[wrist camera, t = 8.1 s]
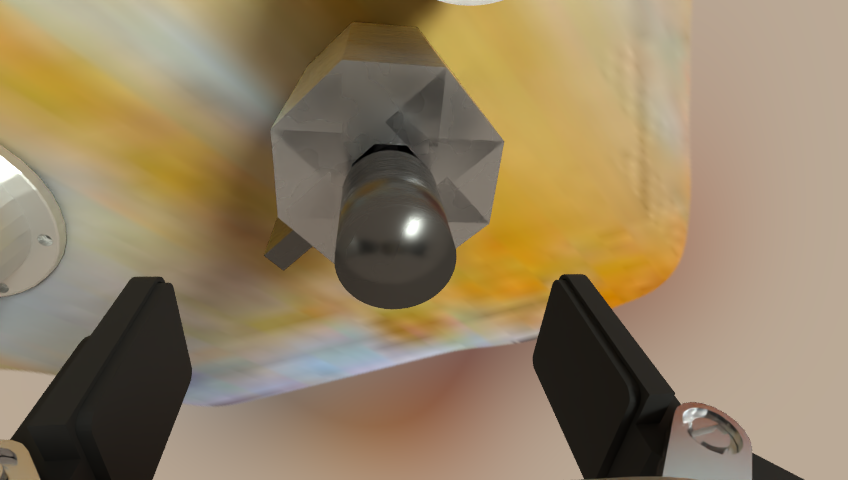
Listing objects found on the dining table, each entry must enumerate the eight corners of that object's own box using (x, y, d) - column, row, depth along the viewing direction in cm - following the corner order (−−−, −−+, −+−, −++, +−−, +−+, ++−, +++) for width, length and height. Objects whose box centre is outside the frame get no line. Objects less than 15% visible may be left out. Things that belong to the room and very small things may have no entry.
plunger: (380, 147, 29) (391, 327, 15) (339, 104, 28) (308, 260, 13) (423, 109, 28) (480, 263, 14) (384, 63, 27) (401, 182, 12)
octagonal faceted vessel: (349, 219, 33) (340, 334, 23) (246, 126, 29) (179, 216, 19) (480, 108, 30) (539, 186, 20) (386, -13, 26) (397, 5, 16)
